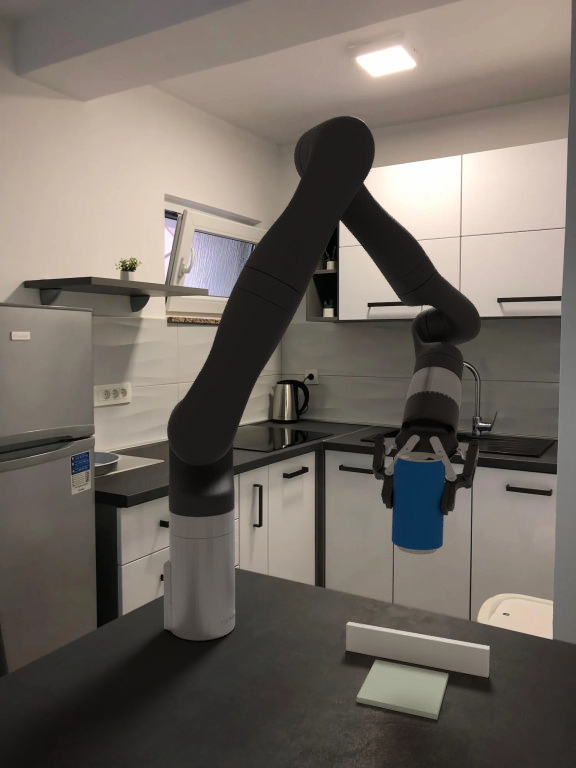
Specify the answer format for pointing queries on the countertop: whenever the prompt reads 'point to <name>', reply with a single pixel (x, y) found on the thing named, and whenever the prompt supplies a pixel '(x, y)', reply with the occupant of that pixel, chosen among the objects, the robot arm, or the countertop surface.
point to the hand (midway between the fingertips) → (416, 508)
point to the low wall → (418, 649)
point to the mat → (404, 689)
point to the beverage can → (418, 502)
